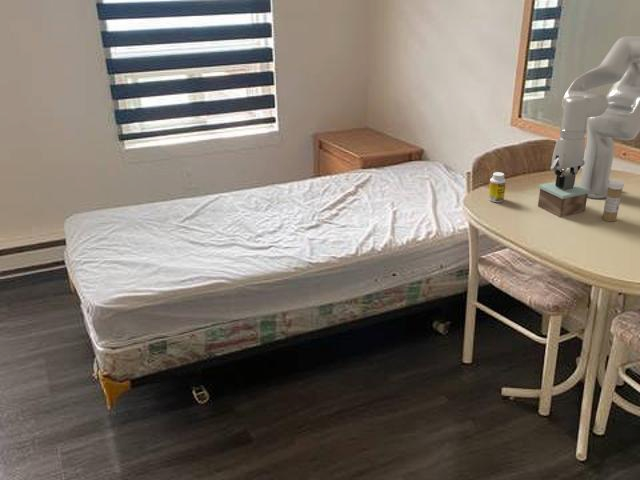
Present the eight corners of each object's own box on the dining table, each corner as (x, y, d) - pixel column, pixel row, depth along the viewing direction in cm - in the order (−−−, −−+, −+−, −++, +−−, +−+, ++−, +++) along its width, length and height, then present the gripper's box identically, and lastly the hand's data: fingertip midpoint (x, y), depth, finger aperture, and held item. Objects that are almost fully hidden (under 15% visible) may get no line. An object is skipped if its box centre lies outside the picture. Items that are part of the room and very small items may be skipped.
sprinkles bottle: (608, 215, 202) (615, 178, 197) (619, 220, 199) (627, 182, 193) (598, 218, 201) (605, 180, 195) (610, 223, 197) (617, 185, 191)
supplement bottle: (496, 204, 215) (499, 177, 211) (485, 199, 219) (487, 173, 215) (507, 200, 218) (509, 174, 213) (495, 196, 222) (497, 170, 218)
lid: (564, 184, 213) (567, 166, 210) (589, 195, 203) (593, 176, 200) (537, 190, 210) (540, 171, 207) (561, 201, 200) (564, 182, 196)
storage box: (562, 201, 215) (565, 183, 212) (584, 211, 206) (587, 192, 203) (537, 206, 212) (540, 187, 209) (559, 217, 203) (562, 198, 200)
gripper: (583, 128, 203) (575, 178, 211) (544, 134, 198) (537, 186, 206) (600, 133, 197) (591, 185, 205) (560, 140, 192) (552, 193, 199)
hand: (564, 185), depth 205 cm, fingers closed on lid, 4 cm apart
